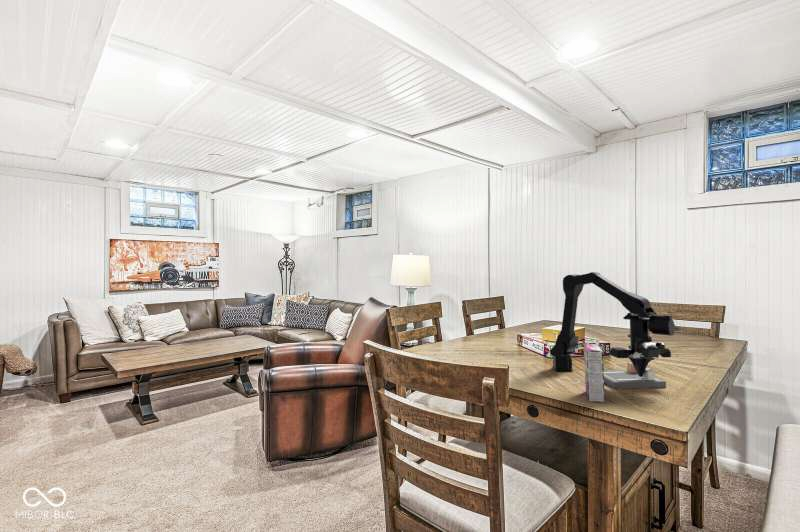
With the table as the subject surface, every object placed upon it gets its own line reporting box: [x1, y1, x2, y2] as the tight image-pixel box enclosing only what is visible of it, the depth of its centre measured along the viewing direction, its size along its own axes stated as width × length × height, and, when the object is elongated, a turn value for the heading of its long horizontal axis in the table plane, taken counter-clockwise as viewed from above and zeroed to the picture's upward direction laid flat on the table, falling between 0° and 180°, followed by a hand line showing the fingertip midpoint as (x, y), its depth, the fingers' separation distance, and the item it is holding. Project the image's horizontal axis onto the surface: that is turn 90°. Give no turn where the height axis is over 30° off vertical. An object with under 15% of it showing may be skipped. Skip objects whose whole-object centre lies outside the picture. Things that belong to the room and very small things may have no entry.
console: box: [604, 369, 667, 389], centre depth 147 cm, size 18×16×2 cm
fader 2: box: [642, 368, 656, 380], centre depth 142 cm, size 2×4×3 cm
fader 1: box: [626, 361, 637, 373], centre depth 152 cm, size 2×4×3 cm
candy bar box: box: [583, 343, 606, 404], centre depth 131 cm, size 11×5×16 cm, turn 160°
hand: (640, 376), depth 142 cm, fingers closed
